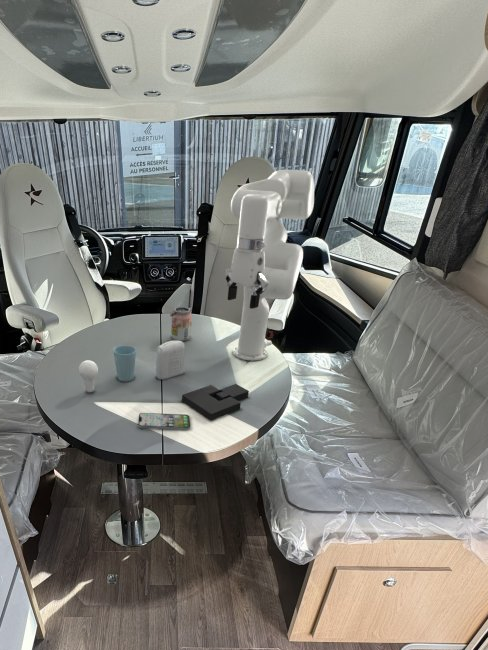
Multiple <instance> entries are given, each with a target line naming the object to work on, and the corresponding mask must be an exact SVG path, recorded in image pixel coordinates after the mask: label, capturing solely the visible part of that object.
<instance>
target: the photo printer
mask: <svg viewBox="0 0 488 650" xmlns="http://www.w3.org/2000/svg"><path fill="white" fill-rule="evenodd" d="M185 349H186V347H185V343H184V341H175V340H170V341H166V342H164V343H162V344H160V345H159V346H157V348H156V368H155V369H156V372H155V375H156V378H157V379H158V380H166V379H170V378H173V377H177V376H180V375H183V374H184V368H185V367H184V366H185V351H186V350H185Z"/></svg>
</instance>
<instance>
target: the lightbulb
mask: <svg viewBox="0 0 488 650" xmlns="http://www.w3.org/2000/svg"><path fill="white" fill-rule="evenodd" d="M78 373H79V376H80V377H81V378H82V380H83V383H84V386H85V391H86V392H88V393H92V392H94V391H95V382H96V381H95V380H96V378H97V376H98V374H99V367H98V365H97V363H96V362H94V361H93V360H89V359H87V360H84V361H82V362H81V363H80V364H79V366H78Z"/></svg>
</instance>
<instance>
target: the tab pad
mask: <svg viewBox="0 0 488 650" xmlns="http://www.w3.org/2000/svg"><path fill="white" fill-rule="evenodd" d="M219 390H220V393H217V394H216V398H215V399H216V400H218V401H221V400H223V399H226V398H229V397H232V398H234V399H236V400H238V401H239V402H241V401H243V400H246V399H248V398H249V393H250V391H249V390H248V389H246V388H244V387H242V386H241V385H239V384H237V383H234V384H231V385H229V386H226V387H223V388H220V389H219Z"/></svg>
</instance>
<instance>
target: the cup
mask: <svg viewBox="0 0 488 650" xmlns="http://www.w3.org/2000/svg"><path fill="white" fill-rule="evenodd" d="M113 357H114V363H115V369H116V375H117V379H118V380H119V381H121V382H130V381H132V380H134V378H135V369H136V357H137V348H136V347H134V346H133V345H126V344H125V345H118V346H115V347H114V348H113Z"/></svg>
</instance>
